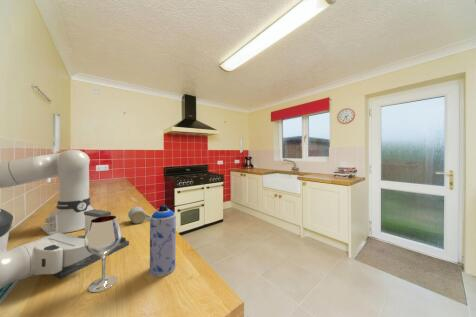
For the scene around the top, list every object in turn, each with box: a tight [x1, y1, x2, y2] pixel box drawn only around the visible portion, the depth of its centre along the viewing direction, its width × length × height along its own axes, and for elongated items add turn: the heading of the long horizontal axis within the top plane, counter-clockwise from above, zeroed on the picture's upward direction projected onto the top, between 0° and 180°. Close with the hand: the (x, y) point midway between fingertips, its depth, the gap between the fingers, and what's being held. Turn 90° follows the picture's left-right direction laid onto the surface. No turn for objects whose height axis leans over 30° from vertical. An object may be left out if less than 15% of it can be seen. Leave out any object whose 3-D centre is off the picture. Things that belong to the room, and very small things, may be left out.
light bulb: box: [128, 206, 152, 224], centre depth 95 cm, size 11×8×8 cm
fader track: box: [48, 236, 130, 280], centre depth 61 cm, size 12×21×2 cm, turn 160°
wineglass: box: [84, 215, 123, 293], centre depth 48 cm, size 8×8×18 cm
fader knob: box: [84, 208, 112, 235], centre depth 63 cm, size 9×3×13 cm, turn 70°
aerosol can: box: [148, 204, 177, 278], centre depth 54 cm, size 8×8×20 cm
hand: (92, 236), depth 62 cm, fingers closed
